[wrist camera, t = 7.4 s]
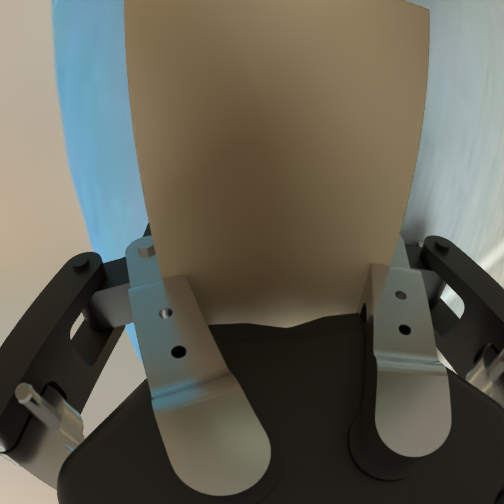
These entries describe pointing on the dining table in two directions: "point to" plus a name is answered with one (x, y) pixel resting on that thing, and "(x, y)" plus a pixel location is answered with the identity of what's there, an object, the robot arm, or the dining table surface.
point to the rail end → (276, 146)
